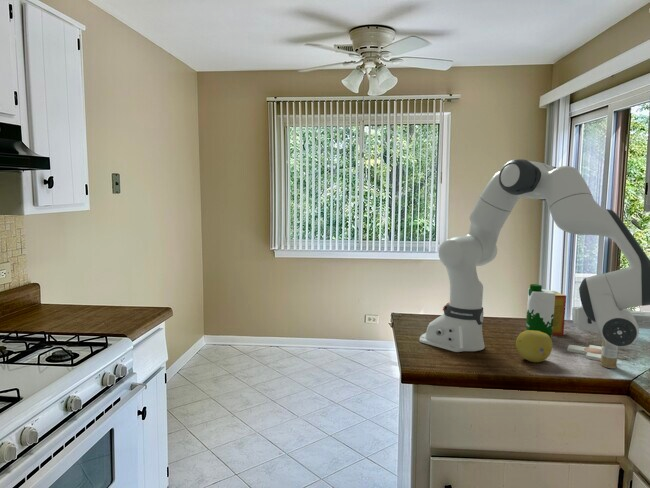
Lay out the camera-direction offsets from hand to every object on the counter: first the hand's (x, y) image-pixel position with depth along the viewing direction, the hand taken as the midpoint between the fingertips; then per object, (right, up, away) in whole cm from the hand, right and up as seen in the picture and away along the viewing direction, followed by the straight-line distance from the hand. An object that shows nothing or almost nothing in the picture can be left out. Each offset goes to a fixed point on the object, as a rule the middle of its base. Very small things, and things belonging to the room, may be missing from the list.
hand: (611, 313), depth 133 cm
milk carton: (-3, -15, +39) cm, 42 cm away
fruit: (-17, -18, +14) cm, 28 cm away
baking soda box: (+5, -15, +47) cm, 50 cm away
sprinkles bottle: (+5, -19, +10) cm, 21 cm away
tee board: (+6, -17, +23) cm, 29 cm away
